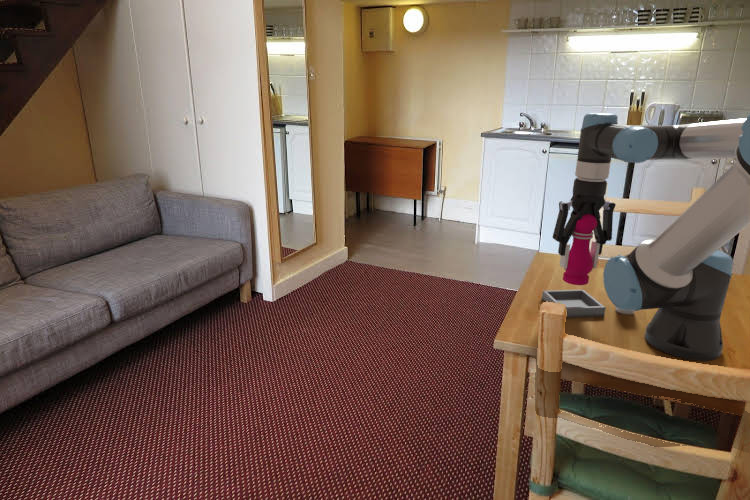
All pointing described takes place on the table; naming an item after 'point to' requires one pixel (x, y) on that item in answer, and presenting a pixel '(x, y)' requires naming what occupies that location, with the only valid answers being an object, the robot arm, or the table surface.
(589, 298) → the tray
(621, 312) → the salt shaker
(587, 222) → the pepper mill
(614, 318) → the table surface
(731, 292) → the table surface
